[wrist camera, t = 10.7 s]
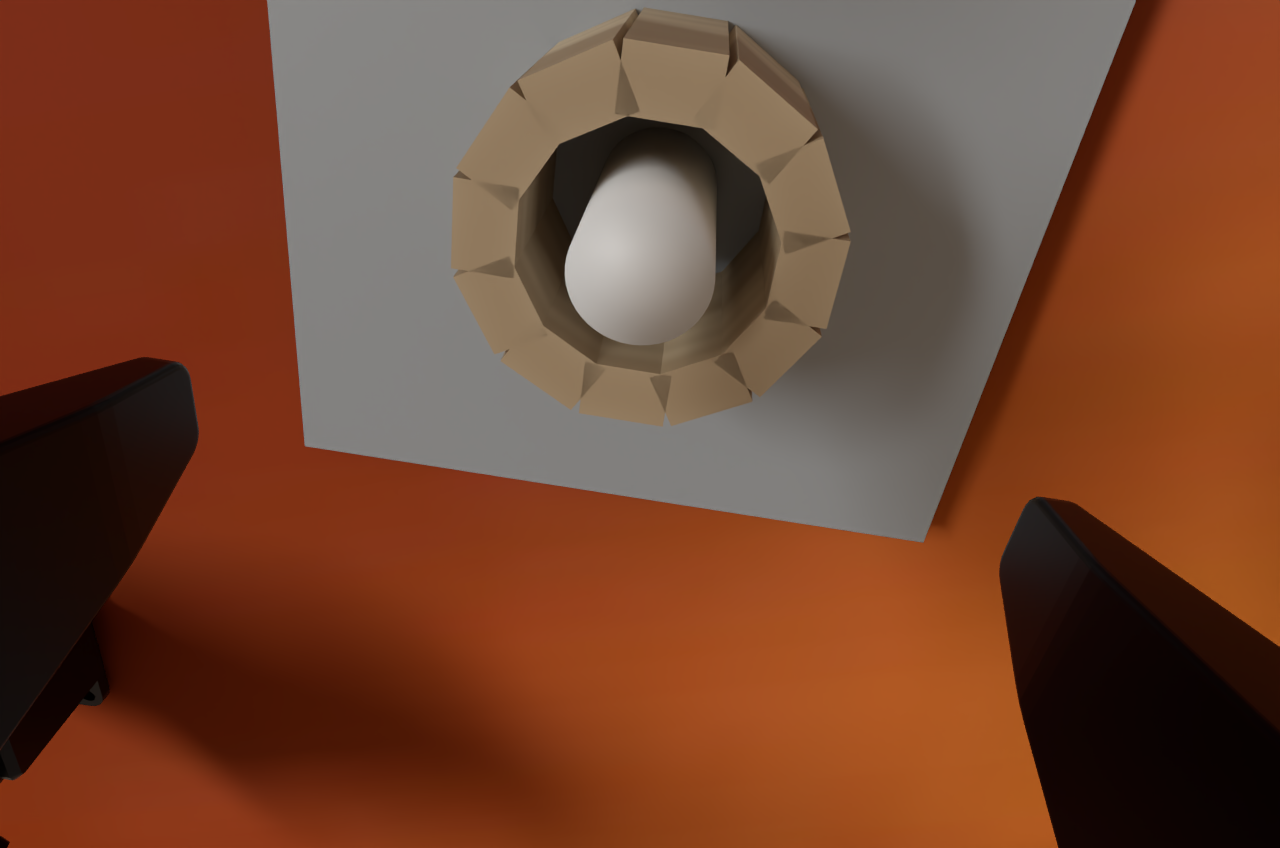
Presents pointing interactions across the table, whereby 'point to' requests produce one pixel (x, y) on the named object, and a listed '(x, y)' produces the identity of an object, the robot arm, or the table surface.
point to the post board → (899, 301)
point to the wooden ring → (539, 241)
